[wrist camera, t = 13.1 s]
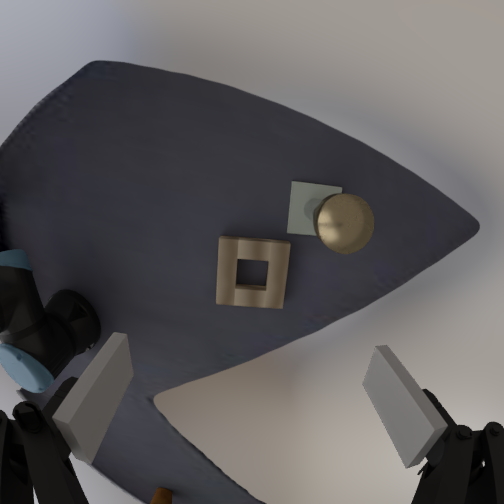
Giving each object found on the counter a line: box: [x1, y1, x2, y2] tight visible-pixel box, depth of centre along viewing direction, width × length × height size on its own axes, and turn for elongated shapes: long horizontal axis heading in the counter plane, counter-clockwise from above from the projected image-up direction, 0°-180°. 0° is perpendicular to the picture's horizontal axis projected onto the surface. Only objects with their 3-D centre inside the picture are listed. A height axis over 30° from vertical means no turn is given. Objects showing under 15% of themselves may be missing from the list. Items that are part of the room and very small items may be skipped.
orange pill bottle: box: [150, 488, 172, 504], centre depth 68 cm, size 10×10×12 cm
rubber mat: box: [287, 181, 342, 236], centre depth 48 cm, size 9×9×1 cm
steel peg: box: [304, 193, 374, 254], centre depth 39 cm, size 7×7×17 cm
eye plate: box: [216, 236, 291, 309], centre depth 50 cm, size 12×12×2 cm
